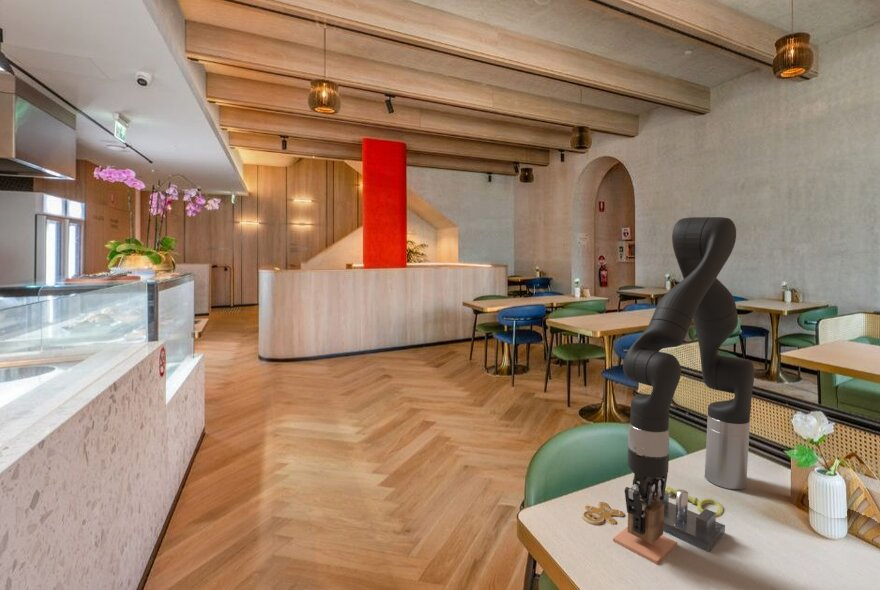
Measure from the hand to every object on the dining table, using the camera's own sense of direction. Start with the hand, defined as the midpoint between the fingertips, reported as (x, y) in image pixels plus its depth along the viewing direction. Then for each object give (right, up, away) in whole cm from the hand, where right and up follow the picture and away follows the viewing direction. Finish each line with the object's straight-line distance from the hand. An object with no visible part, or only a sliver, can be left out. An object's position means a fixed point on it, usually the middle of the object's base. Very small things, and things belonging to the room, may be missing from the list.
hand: (645, 526), depth 89 cm
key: (+19, -3, +15) cm, 24 cm away
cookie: (-5, -3, +10) cm, 12 cm away
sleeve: (0, -1, 0) cm, 1 cm away
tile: (0, -4, 0) cm, 4 cm away
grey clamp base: (+10, -3, +6) cm, 12 cm away
